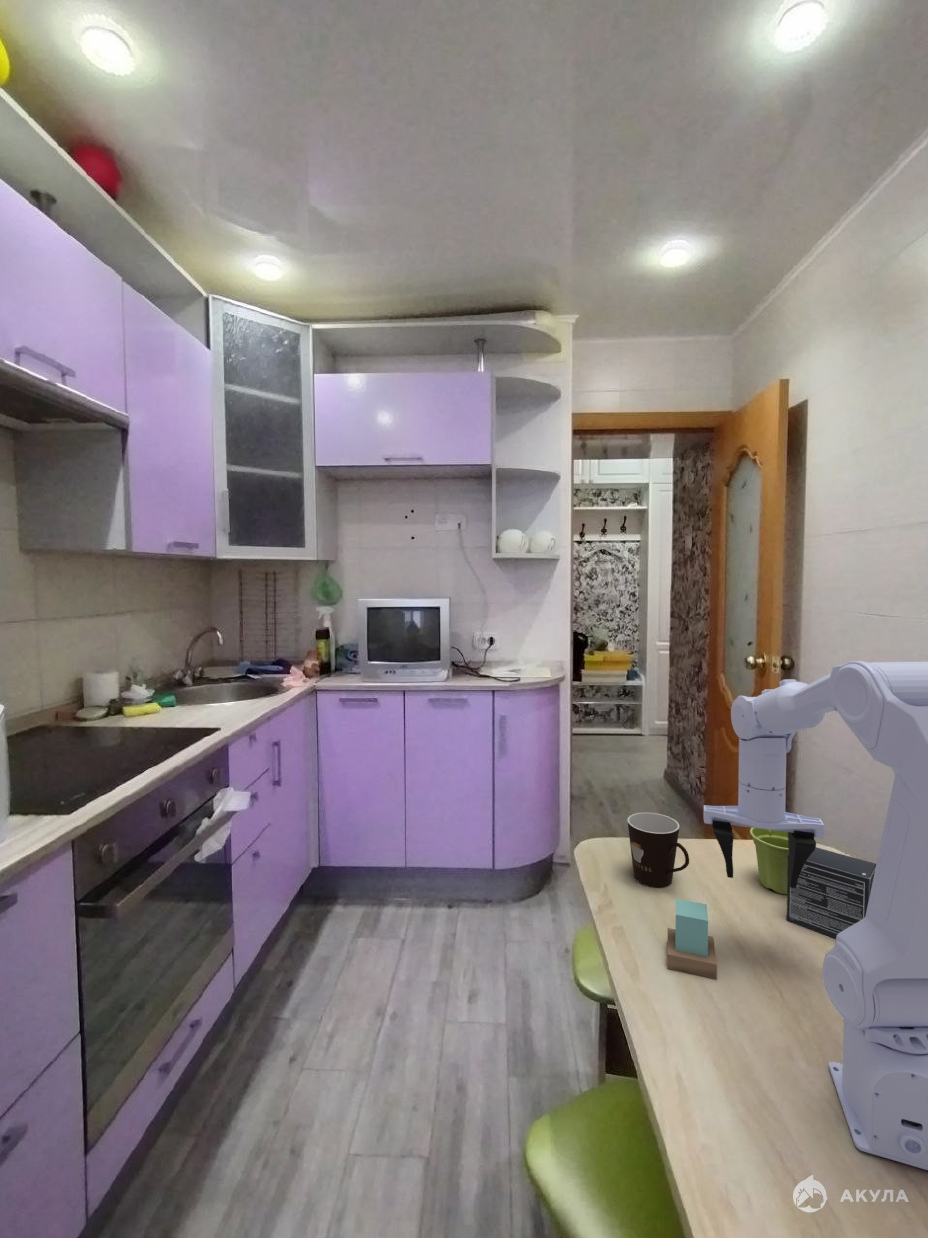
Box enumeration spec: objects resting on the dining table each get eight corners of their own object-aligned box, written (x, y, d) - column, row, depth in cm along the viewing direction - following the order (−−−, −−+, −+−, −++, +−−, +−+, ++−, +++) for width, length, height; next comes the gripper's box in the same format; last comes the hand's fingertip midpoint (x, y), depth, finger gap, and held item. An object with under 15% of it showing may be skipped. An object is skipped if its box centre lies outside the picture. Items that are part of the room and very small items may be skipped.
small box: (878, 931, 80) (880, 862, 80) (870, 953, 76) (872, 879, 75) (796, 903, 88) (797, 839, 87) (784, 920, 83) (785, 854, 83)
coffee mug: (621, 865, 100) (622, 812, 100) (669, 865, 100) (669, 812, 99) (639, 901, 89) (640, 841, 88) (693, 902, 88) (694, 842, 88)
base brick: (716, 979, 71) (716, 964, 71) (667, 968, 73) (667, 954, 73) (713, 950, 76) (713, 936, 76) (667, 941, 79) (667, 928, 78)
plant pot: (795, 872, 97) (796, 825, 96) (824, 902, 88) (825, 850, 87) (740, 870, 98) (741, 823, 97) (763, 900, 89) (764, 848, 88)
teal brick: (707, 957, 72) (708, 920, 72) (675, 950, 74) (675, 914, 73) (706, 939, 76) (706, 904, 76) (675, 932, 77) (675, 898, 77)
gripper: (815, 779, 76) (813, 873, 77) (702, 768, 81) (701, 857, 82) (829, 797, 69) (827, 900, 70) (705, 784, 75) (704, 880, 75)
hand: (760, 879), depth 76 cm, fingers open, 7 cm apart
